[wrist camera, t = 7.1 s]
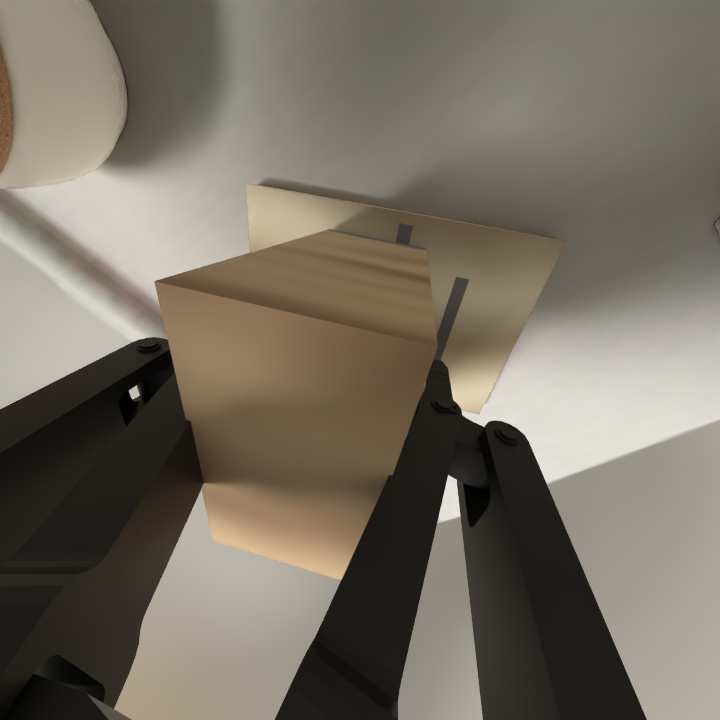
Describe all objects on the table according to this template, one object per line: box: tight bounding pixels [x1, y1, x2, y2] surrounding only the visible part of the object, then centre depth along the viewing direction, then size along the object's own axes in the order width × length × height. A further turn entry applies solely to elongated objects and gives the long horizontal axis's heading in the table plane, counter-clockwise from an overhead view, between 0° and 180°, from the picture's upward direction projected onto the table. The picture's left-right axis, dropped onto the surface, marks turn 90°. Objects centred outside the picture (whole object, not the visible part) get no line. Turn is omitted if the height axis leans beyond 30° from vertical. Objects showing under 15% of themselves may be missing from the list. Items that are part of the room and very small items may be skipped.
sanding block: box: [155, 229, 438, 580], centre depth 12 cm, size 9×5×11 cm, turn 171°
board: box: [246, 184, 566, 414], centre depth 17 cm, size 11×16×1 cm
